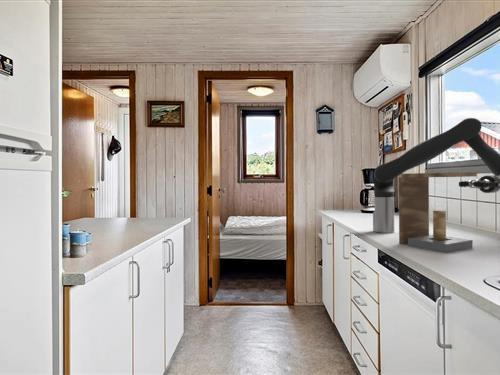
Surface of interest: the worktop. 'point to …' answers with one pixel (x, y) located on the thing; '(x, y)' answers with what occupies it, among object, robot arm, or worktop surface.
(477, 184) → the robot arm
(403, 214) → the wooden l bracket
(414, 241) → the socket plate
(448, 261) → the worktop surface
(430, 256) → the worktop surface
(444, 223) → the wooden peg
